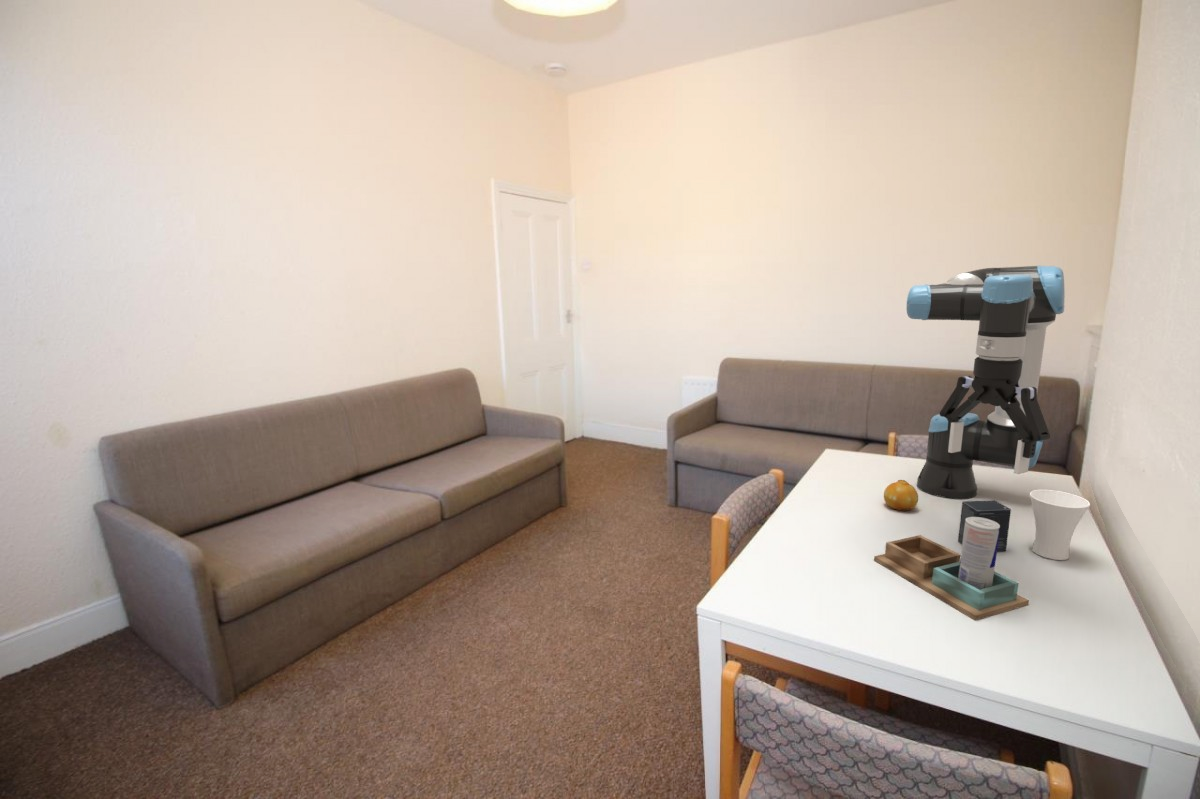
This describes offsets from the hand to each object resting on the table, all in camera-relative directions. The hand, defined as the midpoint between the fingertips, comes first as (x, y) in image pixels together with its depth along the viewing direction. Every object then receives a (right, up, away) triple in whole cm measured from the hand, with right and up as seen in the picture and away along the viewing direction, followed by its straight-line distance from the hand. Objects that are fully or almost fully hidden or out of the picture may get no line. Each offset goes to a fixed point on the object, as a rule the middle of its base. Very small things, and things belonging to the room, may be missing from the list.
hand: (985, 461), depth 109 cm
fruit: (+6, -18, +42) cm, 46 cm away
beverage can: (-3, -26, -1) cm, 26 cm away
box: (+12, -22, +19) cm, 32 cm away
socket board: (-5, -26, +5) cm, 27 cm away
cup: (+25, -23, +15) cm, 37 cm away
